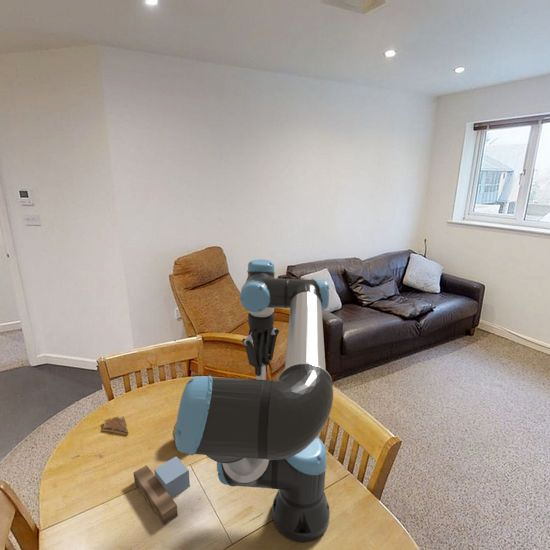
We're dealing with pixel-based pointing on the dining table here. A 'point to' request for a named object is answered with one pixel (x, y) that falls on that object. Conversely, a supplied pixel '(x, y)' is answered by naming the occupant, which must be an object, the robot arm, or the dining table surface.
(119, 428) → the shard
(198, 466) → the dining table surface
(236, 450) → the robot arm
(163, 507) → the brown wavy bar
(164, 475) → the block
